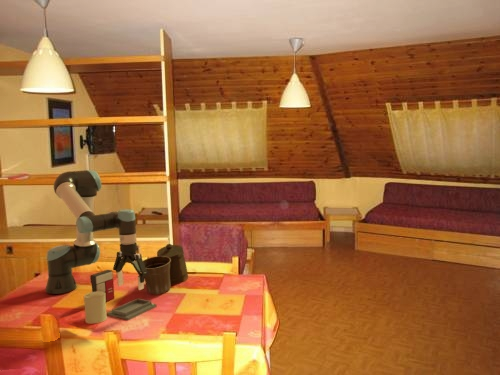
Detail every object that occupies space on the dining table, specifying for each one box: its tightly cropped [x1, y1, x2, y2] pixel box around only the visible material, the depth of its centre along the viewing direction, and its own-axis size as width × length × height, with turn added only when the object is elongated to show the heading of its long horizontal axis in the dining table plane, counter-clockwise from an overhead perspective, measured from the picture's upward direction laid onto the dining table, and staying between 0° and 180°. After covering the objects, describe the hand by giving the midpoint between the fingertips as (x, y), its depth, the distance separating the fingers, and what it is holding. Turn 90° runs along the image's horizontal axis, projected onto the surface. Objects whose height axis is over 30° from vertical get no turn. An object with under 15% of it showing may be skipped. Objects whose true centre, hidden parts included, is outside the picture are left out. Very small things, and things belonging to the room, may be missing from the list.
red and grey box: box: [89, 269, 115, 303], centre depth 209 cm, size 11×4×15 cm, turn 149°
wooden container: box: [156, 243, 189, 285], centre depth 233 cm, size 15×15×22 cm
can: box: [83, 291, 108, 325], centre depth 186 cm, size 9×9×12 cm
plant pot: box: [142, 255, 171, 295], centre depth 220 cm, size 16×16×16 cm
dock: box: [106, 298, 157, 321], centre depth 196 cm, size 14×18×2 cm
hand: (130, 287), depth 195 cm, fingers open, 13 cm apart
